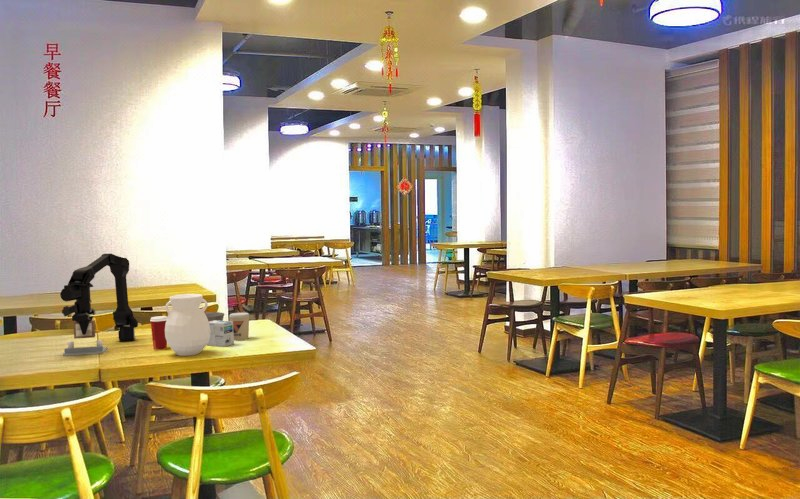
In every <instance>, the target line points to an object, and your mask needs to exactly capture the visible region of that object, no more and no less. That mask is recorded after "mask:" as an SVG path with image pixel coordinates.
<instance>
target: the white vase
mask: <svg viewBox="0 0 800 499" xmlns="http://www.w3.org/2000/svg"><path fill="white" fill-rule="evenodd" d="M202 303H204V306H203V307H202V308H200V306H201V304H202ZM169 305H171V307H172V309H171V310H170V309H169ZM208 305H209V304H208V302H207V300H206V299H204V297H203V294H199V293H182V294H181V293H179V294H174V295H170V296H169V300H168V302H166V304H165V306H164V307H165V309H164V310H165V311H166V312H167V321H166V324H165V338H166V341H167V346H168V347H169V348H170V349H171V350H172V351H173V352H174V353H175V355H177V356H182V357H185V356H186V357H187V356H195V355H199V354H200V353H201V352H202V351H203V350H204V349H205V348H206V346H208V345H207V344H208V342H209V339H210V325H209V321H208V319H207V316H206V315H205V313H204V312H206V310H207V309H208Z"/></svg>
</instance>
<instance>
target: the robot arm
mask: <svg viewBox="0 0 800 499" xmlns="http://www.w3.org/2000/svg"><path fill="white" fill-rule="evenodd" d="M107 266H108V267H109V270H110V272H111V274H112V275H113V277H114V283H115V284H114V285H115V286H114V287H115V295H116V309H115V310H114V311H113V312H112V315H113V318H112V320H113V322H114V324H115V328H116V329H119V330H118V334H117V335H118V340H119V342H133V341H135V340H136V334H135V331H136V330H135V329H136V328H138V326H139V325H138V324H139V322H138V320H137V319H136V318H135V317H134V312H133V310H132V308H131V307H130V305H129V296H128V283H127V275H128V273H129V271H130V261H129V259H127V257H121V256H118V255H116V254H113V253H102V254H101V256H100V257H98V258H97V259H95V260H94V261H92V262H91V263H89V264H88V265H86V266H83V267H80V268H78V269H74V270H73V272H72V275H71V276H70V279H69V281H68V283H67V285H66V284H65V285H64V286H63V287H64V288H62V289H61V291H60V298H61V300H62V301H64V302H71V301H75V302H74V304H72V305H71V306H69V305H65V306H64V307H62V310H61V314H62V315H63V317H65V318H66V317H67V316H69V315H72V316H71V321H72V322H73V321H74V322H78V323H79V325H80V328H81V331H82V334H83V335H85V334H86V332H87V329H88V325H89V322H90V321H93V319H94V316H95V315H96V310H95V308H93V307H92V304H91V303H92V298H91V288H93V287H94V285H93V284H92V283H91V282H92V281H93V280H94V279H95V276H96V274H97V273H98V272H100V271H101V270H103V269H104V268H105V267H107Z"/></svg>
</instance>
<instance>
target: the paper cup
mask: <svg viewBox="0 0 800 499" xmlns="http://www.w3.org/2000/svg"><path fill="white" fill-rule="evenodd" d="M167 318H168V315H166V316H165V315H160V316H159V315H158V316H151V317H150V320H149V321H150V326H151V327H150V328H151V336H152V337H151V338H152V346H153V350H156V351H157V350H164V349H165V350H166V349H167V346H168V343H167V341H166V338H165V324H166V321H167Z"/></svg>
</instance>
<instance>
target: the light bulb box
mask: <svg viewBox="0 0 800 499" xmlns="http://www.w3.org/2000/svg"><path fill="white" fill-rule="evenodd" d="M209 325H210V339H209V342H208V344H207V345H206V346H209V347H210V346H214V347H223V348H224V347H228V346H232V345H234V344H235V340H234V333H233V321H230V320H223V321H217V320H214V321H209Z"/></svg>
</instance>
